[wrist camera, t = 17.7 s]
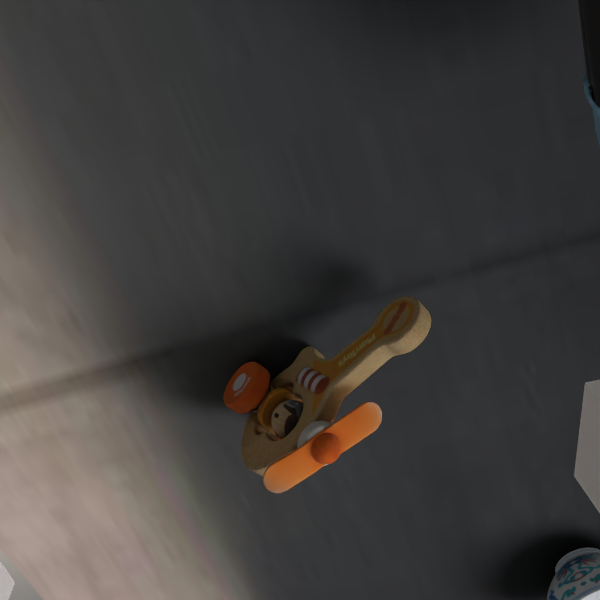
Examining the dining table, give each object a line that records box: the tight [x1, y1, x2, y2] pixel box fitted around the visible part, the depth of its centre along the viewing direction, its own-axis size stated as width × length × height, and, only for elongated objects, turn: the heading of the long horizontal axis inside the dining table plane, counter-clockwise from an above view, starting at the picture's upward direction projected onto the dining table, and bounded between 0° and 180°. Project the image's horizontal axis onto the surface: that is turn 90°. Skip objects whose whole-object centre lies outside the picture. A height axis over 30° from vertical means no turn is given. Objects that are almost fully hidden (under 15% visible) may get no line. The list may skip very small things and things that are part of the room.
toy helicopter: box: [223, 296, 431, 493], centre depth 46 cm, size 8×21×14 cm, turn 134°
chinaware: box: [547, 548, 600, 600], centre depth 70 cm, size 15×15×8 cm
